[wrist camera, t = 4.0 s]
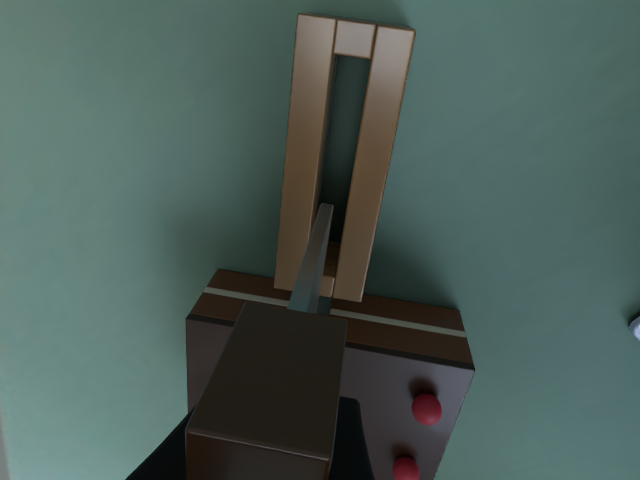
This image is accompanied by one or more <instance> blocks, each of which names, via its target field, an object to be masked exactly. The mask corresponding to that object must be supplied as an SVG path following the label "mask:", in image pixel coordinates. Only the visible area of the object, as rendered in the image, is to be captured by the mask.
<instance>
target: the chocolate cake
mask: <svg viewBox="0 0 640 480" xmlns="http://www.w3.org/2000/svg"><path fill="white" fill-rule="evenodd" d="M329 317H335V318H340V319H345V320H347V323H348V325H347V334H346V343H345V352H344V361H343V370H342V379H341V388H340V396H343V397H348V398H354V399H357V400H358V402H359V403H360V410H361V418H362V425H363V431H364V436H365V441H366V445H367V450H368V455H369V459H370V463H371V467H372V471H373V474H374V478H375V480H433V479H434V477H435V474H436V472H437V469H438V466H439V464H440V461H441V459H442V456H443V453H444V451H445V448H446V445H447V443H448V440H449V438H450V435H451V432H452V430H453V427H454V425H455V422H456V419H457V417H458V414H459V412H460V409H461V406H462V404H463V401H464V398H465V396H466V393H467V391H468V388H469V385H470V383H471V380H472V378H473V375H474V372H475V367H474V364H473V360H472V356H471V352H470V348H469V345H468V341H467V337H466V333H465V330H464V326H463V323H462V319H461V315H460V311H459V310H454V309H448V308H443V307H437V306H431V305H425V304H419V303H413V302H408V301H402V300H396V299H390V298H384V297H378V296H372V295H367V294H363V297H362V301H361V302H355V301H349V300H343V299H338V298H333V296H332V302H331V308H330V314H329Z"/></svg>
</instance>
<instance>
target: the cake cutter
mask: <svg viewBox="0 0 640 480" xmlns="http://www.w3.org/2000/svg"><path fill="white" fill-rule="evenodd" d="M333 207H334V206H333V205H331V204H325V203H321V204H320V207H319V210H318V213H317V216H316V220H315V223H314V226H313V229H312V232H311V235H310V238H309V241H308V244H307V248H306V251H305V254H304V257H303V260H302V263H301V266H300V269H299V272H298V276H297V279H296V282H295V285H294V288H293V291H292V294H291V297H290V301H289V304H288V307H287V309H286V308H280V307H275V306H270V305H264V304H259V303H253V302H245V304H244V305H243V308H242V310H241V312H240V314H239V316H238V318H237V320H236V322H235V324H234V327H233V329H232V331H231V333H230V335H229V337H228V339H227V341H226V344H225V346H224V348H223V350H222V352H221V354H220V356H219V358H218V360H217V363H216V365H215V367H214V369H213V371H212V373H211V375H210V377H209V380H208V382H207V384H206V386H205V388H204V390H203V392H202V394H201V396H200V399H199V401H198V403H197V405H196V407H195V409H194V411H193V413H192V416H191V418H190V420H189V422H188V424H187V426H186V428H185V449H186V480H328V477H329V473H330V468H331V464H332V459H333V451H334V442H335V433H336V424H337V415H338V406H339V397H340V388H341V379H342V370H343V361H344V352H345V343H346V334H347V325H348V323H347V320H345V319H340V318H335V317H329V316H324V315H319V314H317V308H318V302H319V295H320V289H321V283H322V276H323V270H324V264H325V257H326V251H327V245H328V239H329V232H330V226H331V220H332V213H333Z"/></svg>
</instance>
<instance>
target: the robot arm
mask: <svg viewBox="0 0 640 480" xmlns="http://www.w3.org/2000/svg"><path fill="white" fill-rule="evenodd" d="M630 330H631V332H632V333H633V334H634V336H635V337H636V338H637V339H639V340H640V316H639V317H638V318H636V319H635V320H634V321H633V322H632V323H631V324H630ZM197 403H198V402H197ZM196 405H197V404H196ZM196 405H195V406H194V407H193V408H192V410H191V411H190V412H189V413H188V414H187V415H186V417H185V418H184V419H183V420H182V421H181V422H180V423H179V424H178V426H177V427H176V428H175V429H174V430H173V431H172V432H171V433H170V434H169V435H168V436H167V438H166V439H165V440H164V441H163V442H162V443H161V444H160V445H159V446H158V447H157V448H156V449H155V450H154V451H153V452H152V453H151V454H150V455H149V456H148V457H147V458H146V459H145V460H144V461H143V462H142V463H141V464H140V465H139V466H138V467H137V468H136V469H135V470H134V471H133V472H132V473H131V474H130V475H129V476H128V477H127V478H126V479H125V480H186V449H185V428H186V426H187V424H188V422H189V420H190V418H191V416H192V413H193V411H194V409H195V407H196ZM328 480H375V478H374V474H373V471H372V467H371V463H370V459H369V455H368V450H367V445H366V441H365V436H364V431H363V425H362V418H361V410H360V403H359V402H358V400H357V399H354V398H348V397H343V396H340V397H339V406H338V415H337V424H336V433H335V442H334V451H333V459H332V464H331V468H330V473H329V477H328Z"/></svg>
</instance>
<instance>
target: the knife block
mask: <svg viewBox="0 0 640 480" xmlns="http://www.w3.org/2000/svg"><path fill="white" fill-rule="evenodd" d="M415 35H416V30H415V29H413V28H411V27H409V26H405V25H397V24H390V23H383V22H378V23H377V22H376V21H369V20H362V19H354V18H347V17H345V18H343V17H340V16H333V15H326V14H318V13H298V14H297V24H296V35H295V46H294V58H293V69H292V81H291V92H290V104H289V115H288V127H287V138H286V150H285V161H284V173H283V184H282V196H281V207H280V219H279V230H278V241H277V253H276V264H275V276H274V288H278V289H283V290H289V291H293V288H294V285H295V282H296V279H297V276H298V272H299V269H300V266H301V263H302V260H303V257H304V254H305V251H306V248H307V244H308V241H309V238H310V235H311V232H312V229H313V226H314V223H315V220H316V216H317V213H318V210H319V203H320V196H321V188H322V180H323V173H324V165H325V158H326V150H327V142H328V135H329V127H330V120H331V112H332V104H333V97H334V89H335V82H336V74H337V66H338V59H339V55H343V56H350V57H357V58H364V59H370V58H371V61H370V67H369V73H368V80H367V86H366V92H365V98H364V104H363V110H362V116H361V122H360V129H359V135H358V141H357V147H356V153H355V159H354V165H353V171H352V178H351V184H350V190H349V196H348V202H347V208H346V214H345V220H344V227H343V233H342V239H341V243H338V242H332V241H328V245H327V251H326V257H325V264H324V270H323V276H322V283H321V289H320V295H319V296H325V297H332V296H333V298H338V299H343V300H349V301H355V302H361V301H362V297H363V292H364V287H365V282H366V277H367V272H368V267H369V262H370V257H371V253H372V248H373V243H374V238H375V233H376V228H377V223H378V218H379V213H380V208H381V203H382V198H383V193H384V188H385V183H386V178H387V173H388V169H389V164H390V159H391V154H392V149H393V144H394V139H395V134H396V129H397V124H398V119H399V114H400V109H401V104H402V99H403V94H404V89H405V85H406V80H407V75H408V70H409V65H410V60H411V55H412V50H413V45H414V40H415Z"/></svg>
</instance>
